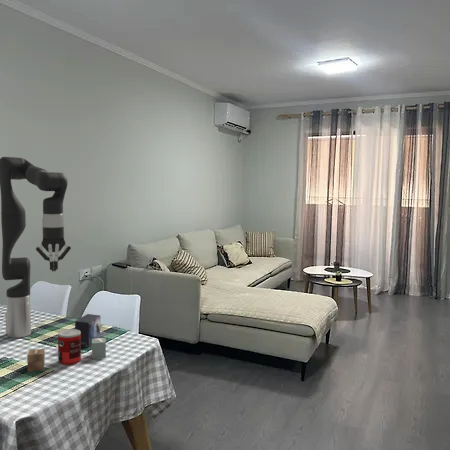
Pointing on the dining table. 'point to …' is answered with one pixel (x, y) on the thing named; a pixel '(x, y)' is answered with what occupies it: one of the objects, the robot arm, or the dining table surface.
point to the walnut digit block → (36, 360)
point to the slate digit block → (99, 348)
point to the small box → (88, 328)
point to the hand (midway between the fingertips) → (53, 270)
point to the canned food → (69, 346)
